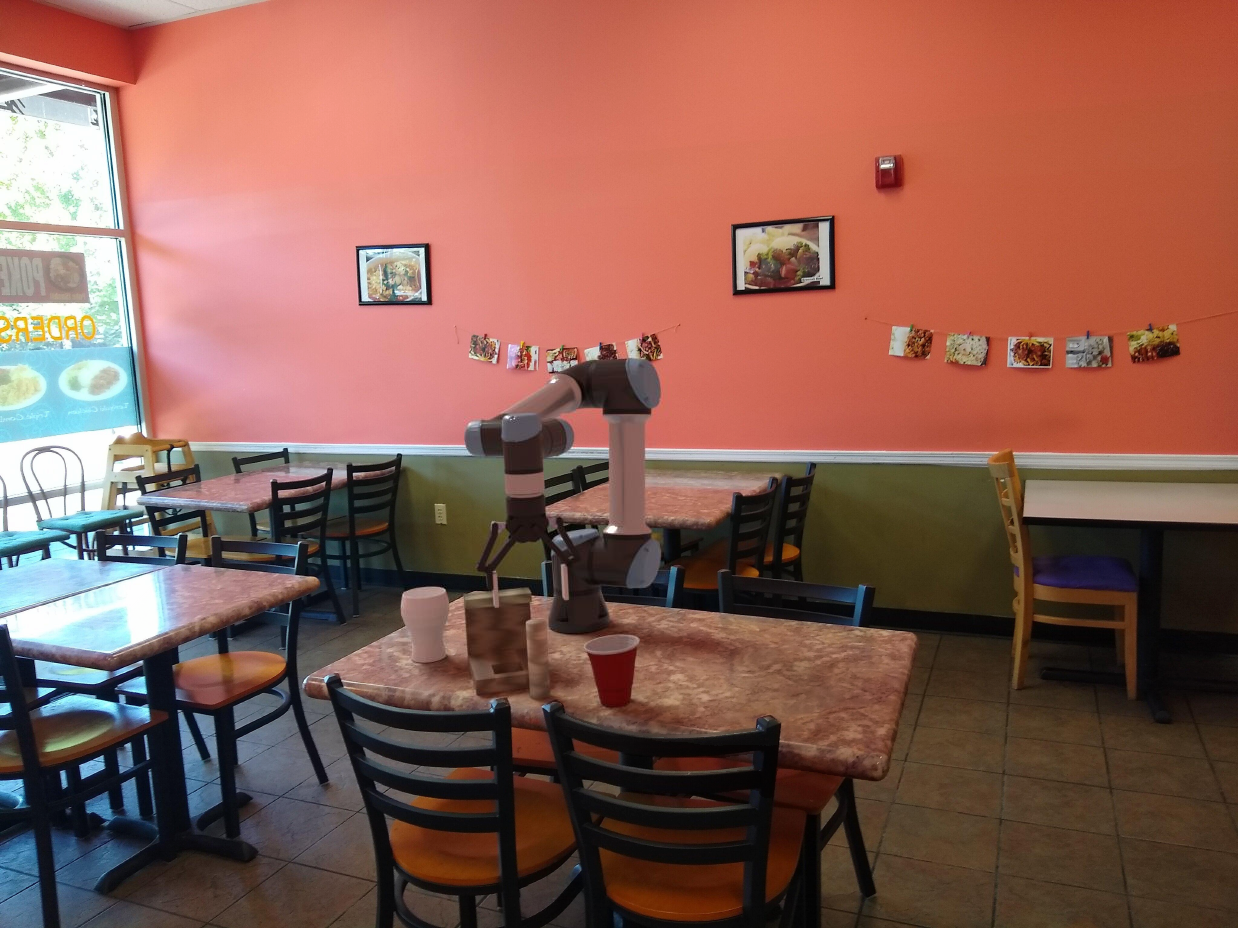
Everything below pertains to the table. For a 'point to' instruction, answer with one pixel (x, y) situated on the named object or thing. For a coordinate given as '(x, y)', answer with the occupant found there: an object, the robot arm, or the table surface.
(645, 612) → the table surface
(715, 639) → the table surface
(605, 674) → the plastic cup
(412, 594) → the cup
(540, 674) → the peg
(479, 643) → the socket block
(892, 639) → the table surface
